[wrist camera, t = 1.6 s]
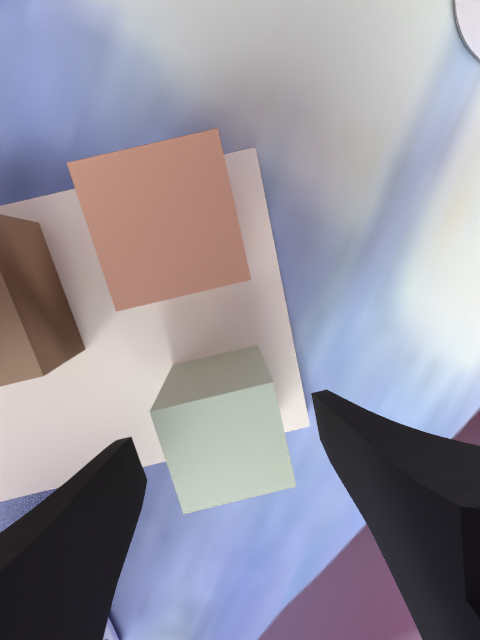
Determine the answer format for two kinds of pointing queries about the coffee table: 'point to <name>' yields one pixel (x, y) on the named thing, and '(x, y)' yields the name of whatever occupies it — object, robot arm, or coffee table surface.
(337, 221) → the coffee table surface
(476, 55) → the can
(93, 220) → the terracotta block
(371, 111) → the coffee table surface
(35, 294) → the walnut block
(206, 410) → the sage block
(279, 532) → the coffee table surface
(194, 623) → the coffee table surface
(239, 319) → the cream board
